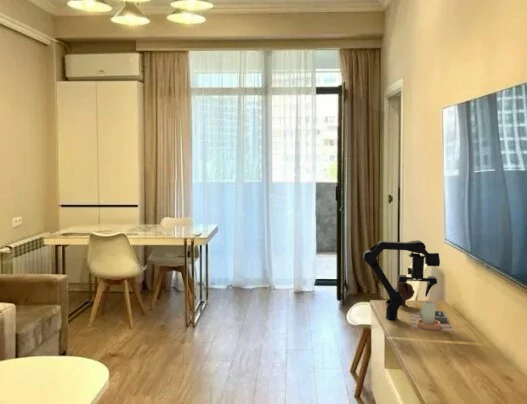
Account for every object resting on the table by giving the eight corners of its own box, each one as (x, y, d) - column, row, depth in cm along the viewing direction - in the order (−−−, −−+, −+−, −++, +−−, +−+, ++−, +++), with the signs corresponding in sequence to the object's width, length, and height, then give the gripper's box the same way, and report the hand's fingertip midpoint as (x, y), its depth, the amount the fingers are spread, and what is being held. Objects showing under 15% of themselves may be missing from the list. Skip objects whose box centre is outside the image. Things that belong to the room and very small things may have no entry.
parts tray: (419, 314, 311) (419, 309, 311) (443, 316, 309) (443, 311, 309) (422, 321, 299) (422, 316, 299) (446, 322, 297) (447, 317, 297)
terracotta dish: (415, 321, 298) (415, 318, 297) (438, 323, 296) (438, 319, 296) (417, 328, 287) (418, 324, 287) (441, 330, 285) (441, 326, 285)
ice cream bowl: (393, 309, 324) (395, 282, 322) (393, 304, 335) (394, 277, 333) (413, 310, 322) (415, 283, 320) (412, 305, 333) (414, 279, 331)
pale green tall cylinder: (426, 322, 296) (427, 299, 294) (436, 325, 291) (438, 301, 290) (419, 324, 292) (420, 301, 291) (429, 327, 287) (431, 303, 286)
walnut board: (408, 314, 314) (408, 312, 314) (445, 316, 311) (445, 314, 311) (413, 331, 286) (413, 329, 286) (454, 333, 283) (454, 331, 283)
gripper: (434, 263, 306) (433, 293, 308) (397, 261, 309) (396, 291, 311) (437, 267, 295) (436, 298, 297) (399, 266, 298) (398, 296, 300)
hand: (416, 296), depth 301 cm, fingers open, 9 cm apart
